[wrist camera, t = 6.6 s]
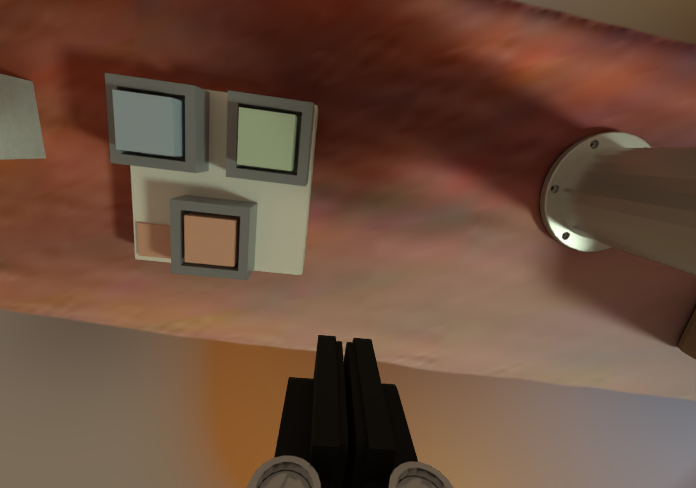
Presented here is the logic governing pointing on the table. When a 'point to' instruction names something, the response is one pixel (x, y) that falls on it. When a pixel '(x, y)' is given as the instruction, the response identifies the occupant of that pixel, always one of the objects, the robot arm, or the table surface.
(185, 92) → the button panel
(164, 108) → the slate button
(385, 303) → the table surface
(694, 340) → the wooden block
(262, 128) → the sage button
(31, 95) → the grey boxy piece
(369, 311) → the table surface
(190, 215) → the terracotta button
